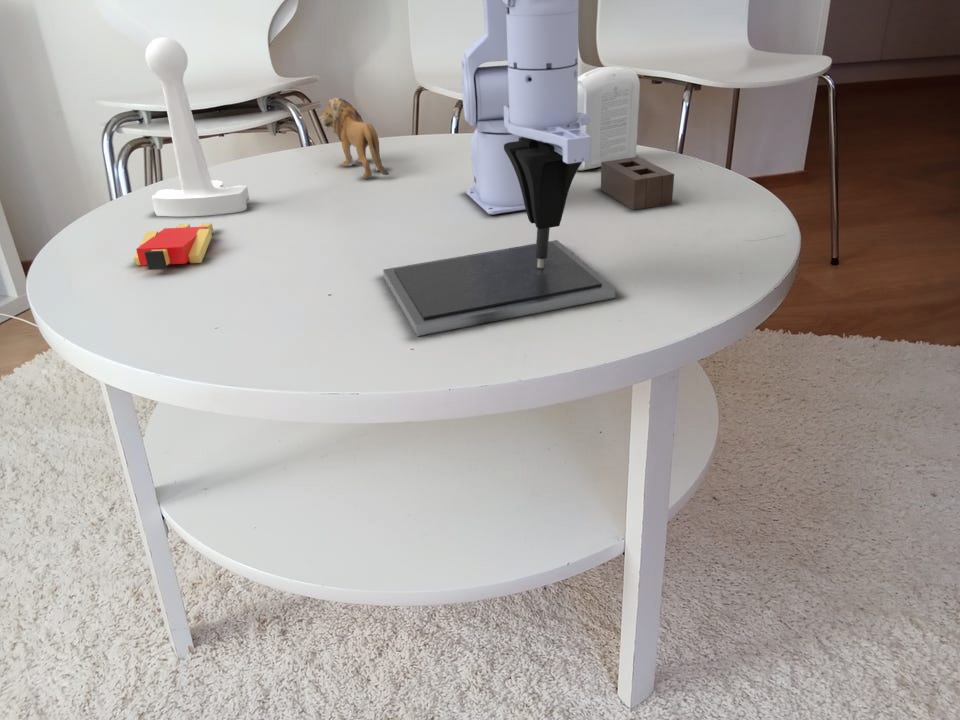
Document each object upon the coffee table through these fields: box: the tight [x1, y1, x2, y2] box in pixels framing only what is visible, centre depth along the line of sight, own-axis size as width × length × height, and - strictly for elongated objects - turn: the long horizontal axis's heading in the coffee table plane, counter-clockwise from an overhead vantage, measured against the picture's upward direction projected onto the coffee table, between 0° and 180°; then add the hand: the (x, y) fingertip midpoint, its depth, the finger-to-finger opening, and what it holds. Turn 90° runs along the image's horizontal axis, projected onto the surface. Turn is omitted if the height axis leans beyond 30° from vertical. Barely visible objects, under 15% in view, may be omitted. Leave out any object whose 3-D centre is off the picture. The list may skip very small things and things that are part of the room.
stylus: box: [535, 227, 550, 268], centre depth 70 cm, size 1×1×8 cm
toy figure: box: [133, 222, 214, 270], centre depth 83 cm, size 2×7×12 cm
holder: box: [600, 156, 675, 211], centre depth 91 cm, size 5×8×4 cm, turn 18°
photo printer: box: [577, 66, 641, 171], centre depth 102 cm, size 10×4×12 cm, turn 123°
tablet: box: [382, 239, 616, 337], centre depth 71 cm, size 13×18×1 cm
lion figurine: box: [318, 97, 390, 180], centre depth 107 cm, size 15×5×9 cm, turn 37°
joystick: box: [144, 36, 251, 218], centre depth 93 cm, size 11×8×20 cm
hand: (544, 223), depth 70 cm, fingers closed on stylus, 1 cm apart
